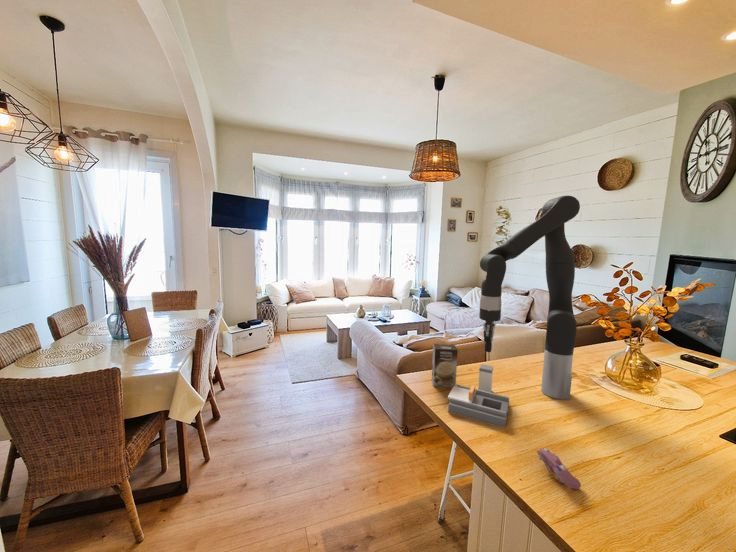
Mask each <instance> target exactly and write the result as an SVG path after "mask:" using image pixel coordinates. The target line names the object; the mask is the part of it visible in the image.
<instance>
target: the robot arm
mask: <svg viewBox="0 0 736 552" xmlns="http://www.w3.org/2000/svg"><path fill="white" fill-rule="evenodd" d="M580 208H581V204H580V201H579V199H577V197H575V196H573V195H561V196H558V197H554V198H551V199H548V200H547V201H546V202H544V204H543V205H542V210H541V217H539V218H538V219H537V220H534V221H533V222H531V224H529V225H527V226H525V227H523V228H522V229H520V230H518V231H517V232H516V233H514V234H513V235H511V236H510V237H509V238H507V239H506V241H503V243H502V244H501V245H499V246H497V247H495V248H493V249H491V250H490V251H488V252H487V253H485V254H484V255H483V256H482V258H481V259H480V260H479V267H480V269H481V270H482V271H483V272H485V273H486V275H485V279H484V280H482V282H481V288H480V290H481V292H480V294H481V295H480V301H479V314H478V315H479V319H480V320H482V321H485V322H484V323H483V327H482V328H483V329H482V330H483V342H484V352H486V353H491V352H492V350H493V349H492V346H493V341H494V336H495V329H496V322H499V321H501V317H502V288H503V287H502V285H503V282H504V279H505V275H506V273H507V271H506V270H507V261H509V260H514V259H516V258H518V256H520V255H521V254H523V253H524V252H525V251H526V250H527V249H529V248H530V247H531V246H533V245H534V244H535V243H537V241H539V240H540V239H542V238H544V245H545V246H544V247H545V279H546V284H547V289H548V296H549V297H548V298H549V299H548V311H547V312H548V313H547V318H546V332H545V341H544V343H545V344H544V354H543V365H542V367H543V368H542V375H541V376H542V377H541V379H542V380H541V390H540V391H541V392H542V393H543V394H544V395H545V396H548V397H550V398H552V399H557V400H571V399H570V397H571V389H572V379H573V378H572V377H573V375H572V369H573V361H574V360H573V359H574V358H573V357H574V350H575V346H576V338H577V330H578V329H577V328H578V327H577V326H578V324H577V323H578V322H577V321H576V317H575V314H574V308H573V299H572V297H573V295H572V294H573V289H574V283H575V275H576V274H575V273H576V272H575V270H576V266H575V265H576V264H575V255H574V253H573V250H572V248H571V246H570V244H569V242H568V241H567V237H566V231H565V230H566V229H565V224H566V223H567V222H569V221H570V220H573V219H574V218H575V217H577V215H578V214H579V212H580ZM494 322H495V323H494Z"/></svg>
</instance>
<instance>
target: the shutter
mask: <svg viewBox="0 0 736 552" xmlns="http://www.w3.org/2000/svg"><path fill="white" fill-rule="evenodd" d="M475 389H476V385H475V384H471V386H470V390H468V389H464V388H460V387H457V385H456V386H454V387H451V390H450V392H449V394H448V395H447V400H450V397H451V398H455V399H459V400H463V401H466V402H470V403H472V401H473V399H474V396H475V394H476V391H475Z"/></svg>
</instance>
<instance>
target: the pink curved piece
mask: <svg viewBox="0 0 736 552" xmlns="http://www.w3.org/2000/svg"><path fill="white" fill-rule="evenodd" d="M536 453H537V455H538V456H537V459H538V461H540V462H543V463H544V464H543V465H544V466H545V467H546V468H547V470H548V472H550V473H551V474H553V476H554V479H556V480H557V481H558V482H559V483H560V484H561V483H562V484H564V485H566V486H567V487H569V488H571V489H573V490H579V489H581V487H582V485H581V484H582V483H581V482H580V480H579V479H578V478H576V477H575V476H573V474H571V472H570V471H569V469H568V468H567V466H566V465H564V464H563V462H562V461H561V460H562V459H560V457H559V456H557V455H556V454H555V453H553V452H551V450H549V449H548V448H547V447H545V448H540V449H538V450H536Z"/></svg>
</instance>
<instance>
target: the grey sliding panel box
mask: <svg viewBox="0 0 736 552" xmlns="http://www.w3.org/2000/svg"><path fill="white" fill-rule="evenodd" d="M456 387H460V388H464V389H468V390H470V388H471V386H465V385H462V384H456ZM475 391H476V394H475V396H474V399H473V401H472V403H470V402H466V401H463V400H459V399H455V398H451V397H450V399H449V402H448V410H447V412H448V413H450V414H454V415H456V416H460V417H464V418H467V419H471V420H474V421H478V422H480V423H484V424H489V425H491V426H496V427H498V428H502V429H506V423H507V418H508V411H509V407H510V396H507V395H502V394H499V393H495V392H491V393H490V392H486V391H482V390H478V388H475Z"/></svg>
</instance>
